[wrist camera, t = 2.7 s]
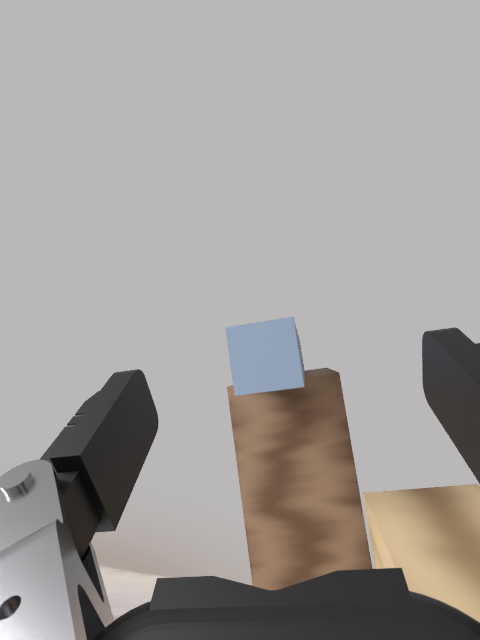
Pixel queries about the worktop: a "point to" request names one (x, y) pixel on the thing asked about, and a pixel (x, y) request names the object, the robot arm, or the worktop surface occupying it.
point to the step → (430, 541)
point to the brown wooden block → (298, 482)
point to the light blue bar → (265, 356)
